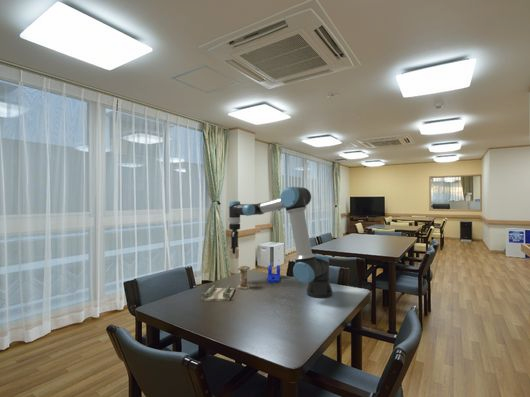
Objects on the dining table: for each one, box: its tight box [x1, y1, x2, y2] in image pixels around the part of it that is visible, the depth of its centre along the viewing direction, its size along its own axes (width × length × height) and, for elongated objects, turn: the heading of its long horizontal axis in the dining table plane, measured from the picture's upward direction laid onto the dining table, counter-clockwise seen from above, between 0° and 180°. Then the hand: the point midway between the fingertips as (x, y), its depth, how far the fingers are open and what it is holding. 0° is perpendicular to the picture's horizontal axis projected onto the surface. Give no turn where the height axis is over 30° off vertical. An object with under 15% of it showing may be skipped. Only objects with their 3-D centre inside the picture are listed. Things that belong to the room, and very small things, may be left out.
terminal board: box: [200, 284, 236, 302], centre depth 170 cm, size 16×20×4 cm
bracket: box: [266, 264, 281, 284], centre depth 203 cm, size 18×8×9 cm, turn 174°
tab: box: [229, 248, 240, 260], centre depth 195 cm, size 5×5×7 cm
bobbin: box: [236, 265, 251, 290], centre depth 184 cm, size 8×8×13 cm
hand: (234, 257), depth 195 cm, fingers closed on tab, 5 cm apart
